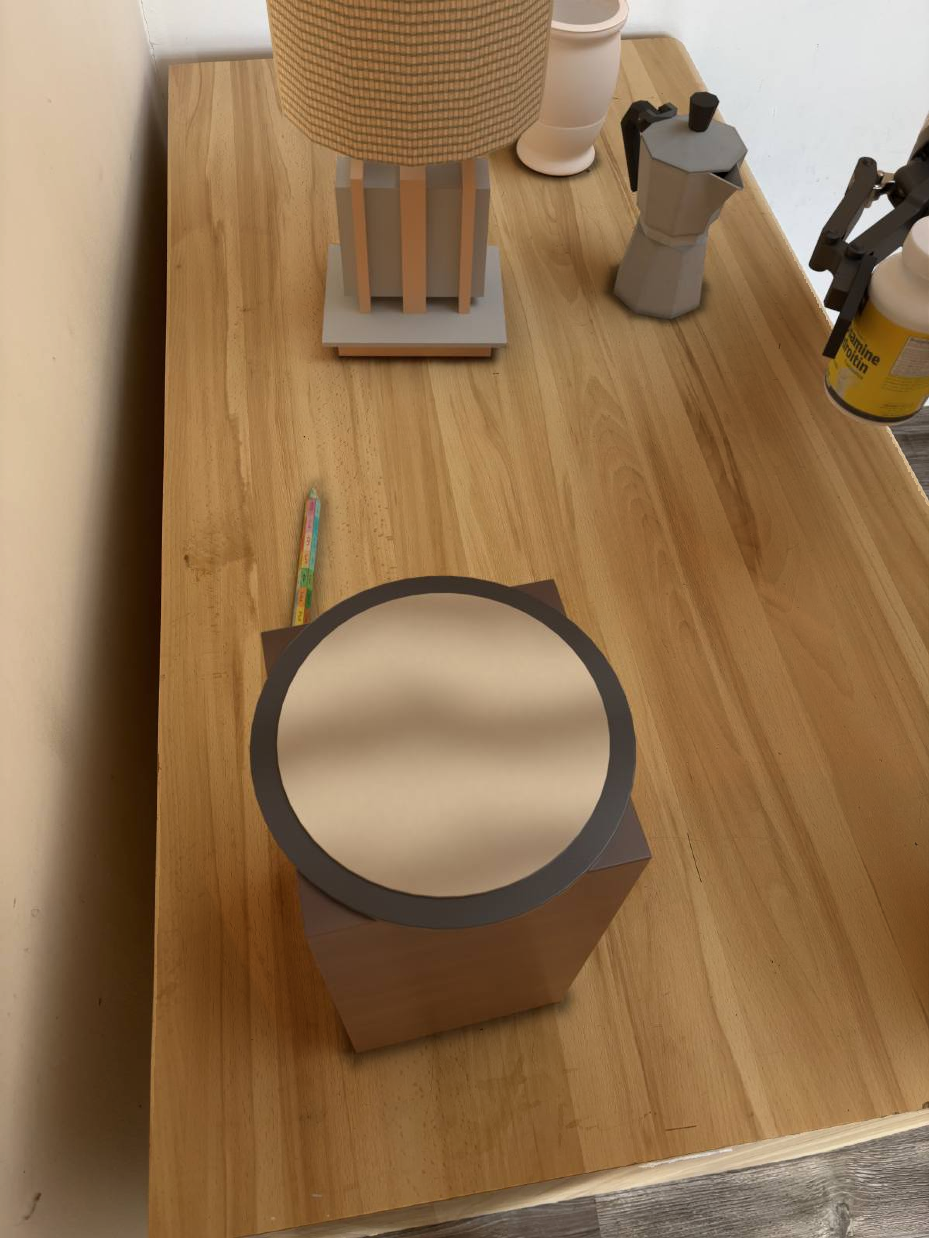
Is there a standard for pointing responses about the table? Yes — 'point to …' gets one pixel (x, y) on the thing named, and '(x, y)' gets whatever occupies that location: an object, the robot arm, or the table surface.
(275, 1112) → the table surface
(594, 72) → the jar
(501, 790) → the tall brown block
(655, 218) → the coffee maker
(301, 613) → the pencil
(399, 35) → the desk lamp
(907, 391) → the pill bottle
